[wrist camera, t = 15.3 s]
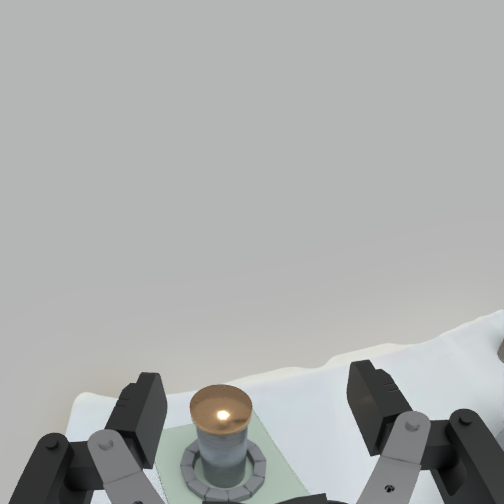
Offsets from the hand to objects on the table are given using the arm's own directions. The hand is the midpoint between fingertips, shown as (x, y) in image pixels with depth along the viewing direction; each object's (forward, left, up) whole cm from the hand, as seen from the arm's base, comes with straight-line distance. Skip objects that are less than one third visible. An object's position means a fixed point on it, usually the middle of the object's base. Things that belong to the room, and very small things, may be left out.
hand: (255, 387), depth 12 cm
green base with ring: (-2, -10, -28) cm, 30 cm away
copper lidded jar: (-2, -10, -27) cm, 29 cm away
